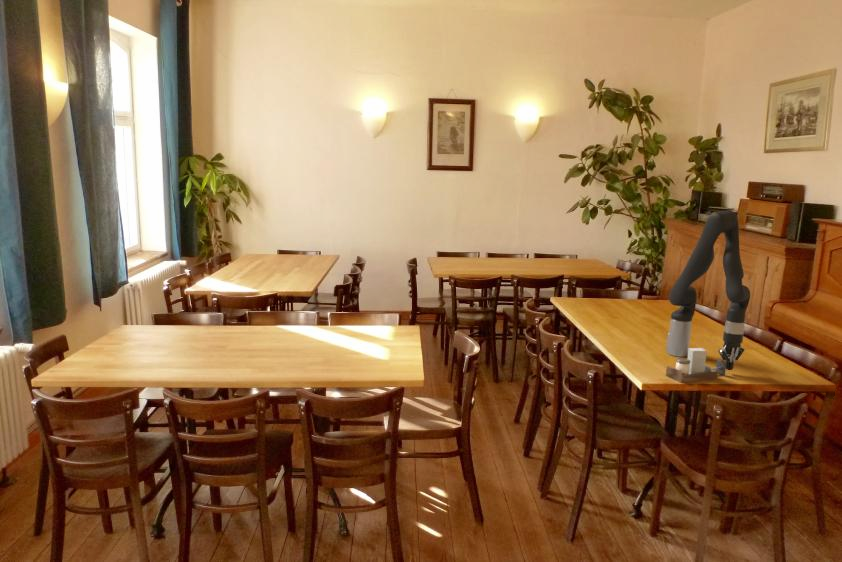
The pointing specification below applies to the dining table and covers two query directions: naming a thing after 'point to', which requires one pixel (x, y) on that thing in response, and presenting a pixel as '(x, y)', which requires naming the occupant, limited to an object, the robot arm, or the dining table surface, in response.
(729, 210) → the robot arm
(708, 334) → the dining table surface
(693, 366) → the skincare box
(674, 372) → the grey brown tray
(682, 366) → the stoneware jar
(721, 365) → the pusher
